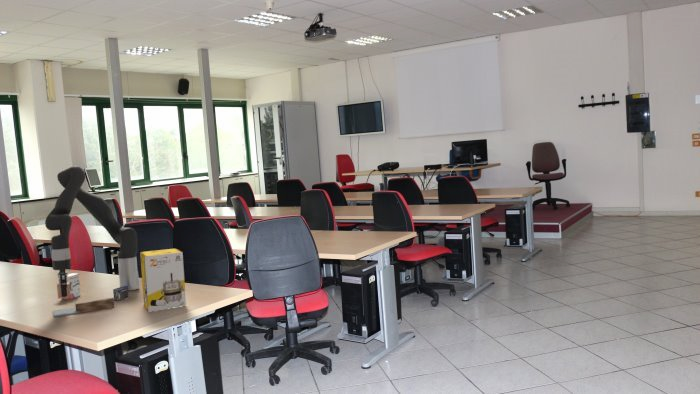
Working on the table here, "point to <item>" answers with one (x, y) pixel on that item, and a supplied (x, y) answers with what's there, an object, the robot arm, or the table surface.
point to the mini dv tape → (120, 293)
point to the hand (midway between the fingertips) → (64, 295)
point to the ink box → (73, 285)
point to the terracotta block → (60, 290)
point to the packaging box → (163, 279)
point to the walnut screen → (94, 305)
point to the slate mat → (65, 312)
